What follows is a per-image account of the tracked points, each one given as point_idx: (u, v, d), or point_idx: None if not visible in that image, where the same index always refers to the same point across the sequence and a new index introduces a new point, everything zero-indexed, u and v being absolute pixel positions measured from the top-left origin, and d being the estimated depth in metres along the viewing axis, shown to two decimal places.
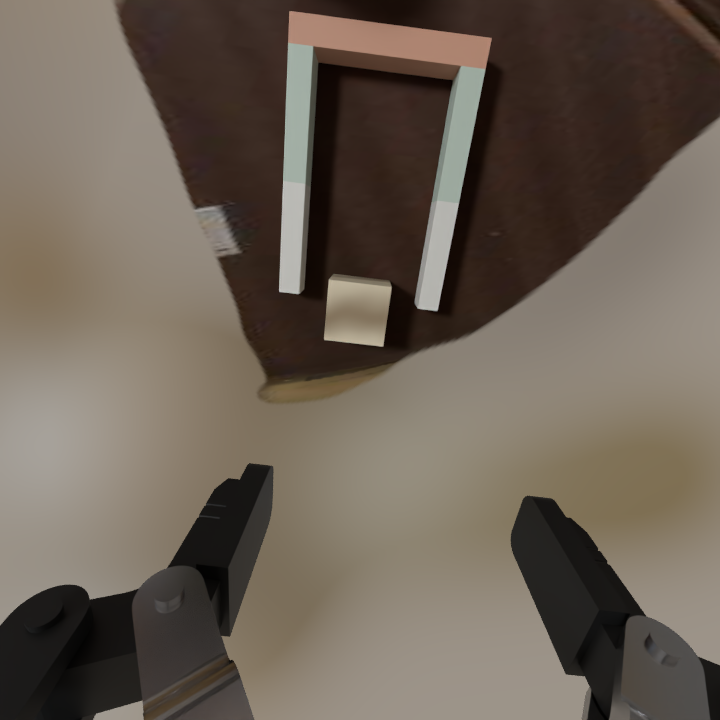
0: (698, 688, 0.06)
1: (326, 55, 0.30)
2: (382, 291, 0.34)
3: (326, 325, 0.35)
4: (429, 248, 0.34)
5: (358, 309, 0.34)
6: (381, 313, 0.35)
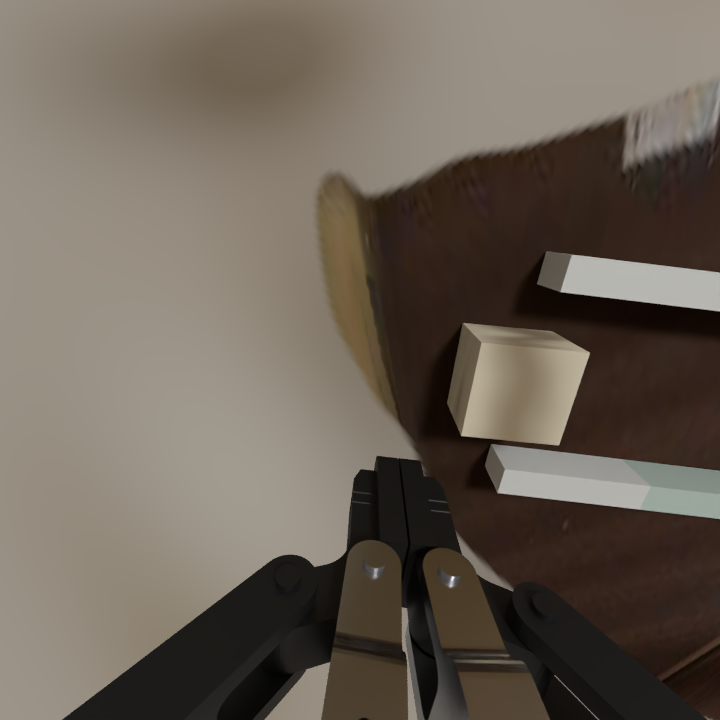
0: (462, 599, 0.07)
1: None
2: (554, 433, 0.21)
3: (507, 347, 0.20)
4: (589, 480, 0.24)
5: (530, 398, 0.21)
6: (518, 431, 0.21)
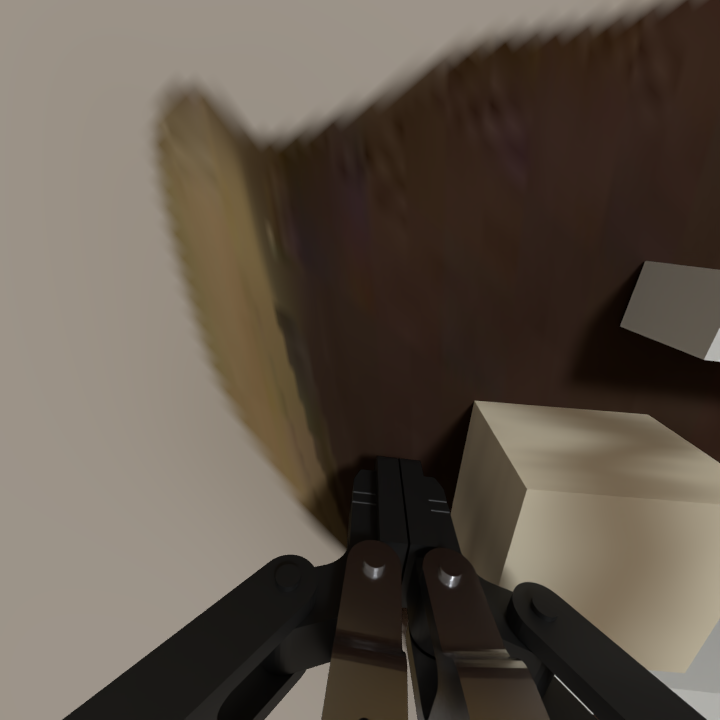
0: (462, 599, 0.07)
1: None
2: (679, 654, 0.10)
3: (590, 499, 0.08)
4: (709, 694, 0.13)
5: (633, 595, 0.09)
6: None
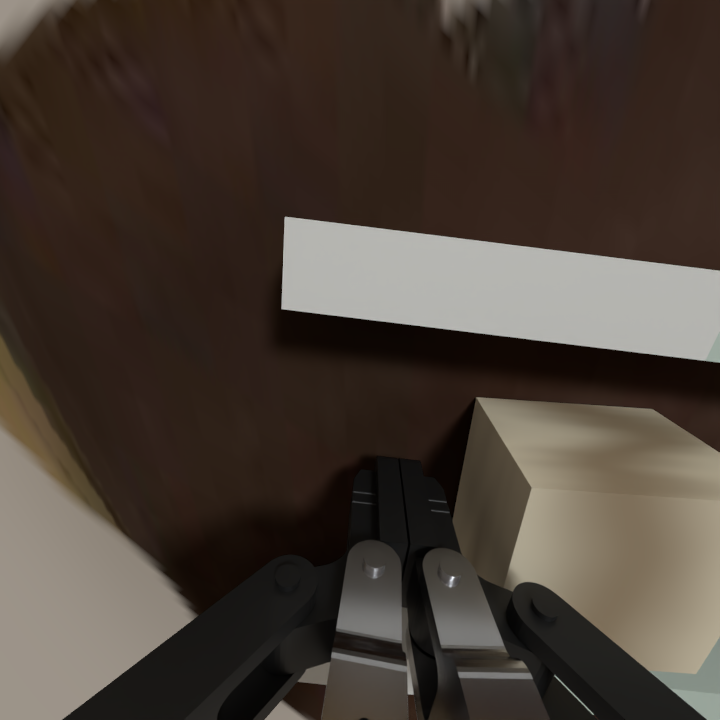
0: (462, 599, 0.07)
1: None
2: (689, 655, 0.10)
3: (596, 498, 0.08)
4: None
5: (642, 595, 0.09)
6: None
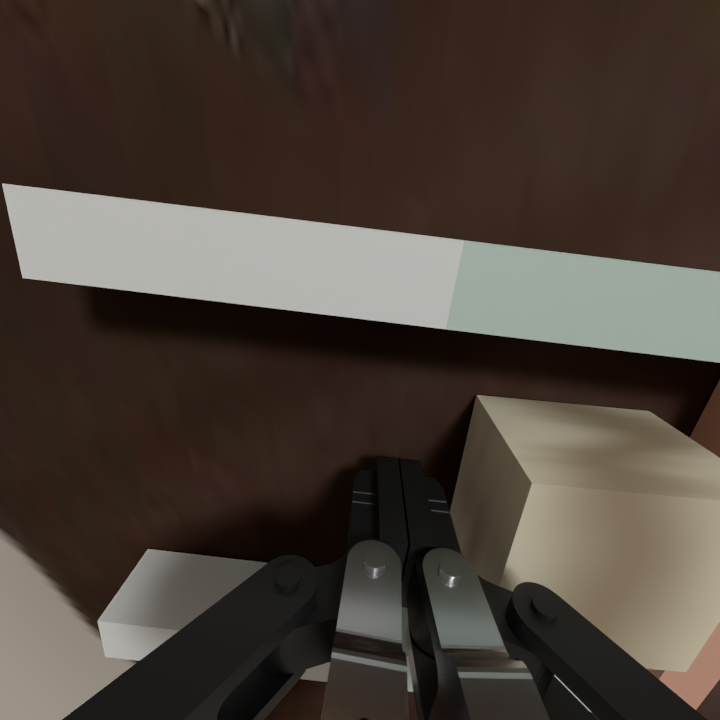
0: (462, 599, 0.07)
1: None
2: (680, 653, 0.10)
3: (595, 494, 0.08)
4: None
5: (636, 593, 0.09)
6: None
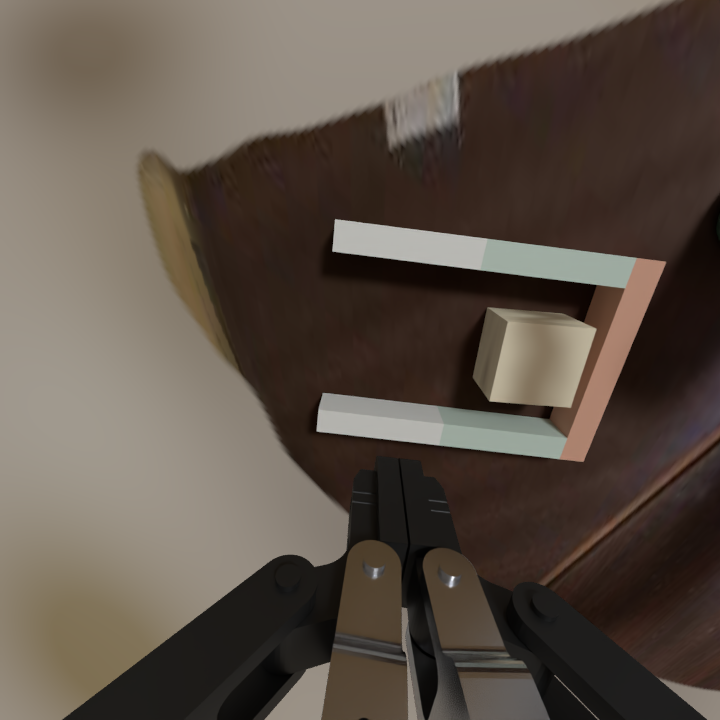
0: (463, 599, 0.07)
1: (607, 298, 0.26)
2: (567, 397, 0.26)
3: (529, 325, 0.24)
4: (391, 419, 0.28)
5: (547, 368, 0.25)
6: (537, 396, 0.26)
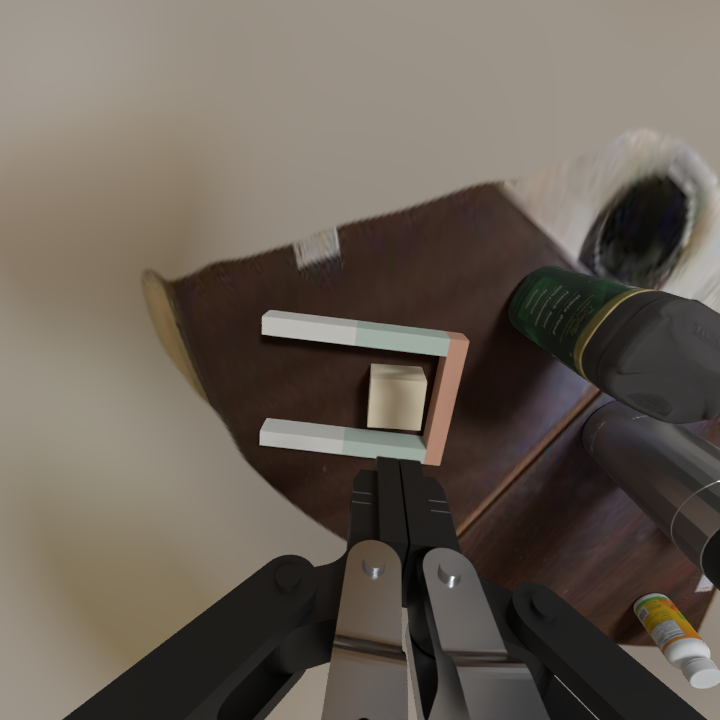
0: (463, 599, 0.07)
1: (442, 360, 0.40)
2: (416, 424, 0.40)
3: (385, 380, 0.38)
4: (308, 437, 0.42)
5: (400, 406, 0.39)
6: (397, 423, 0.40)
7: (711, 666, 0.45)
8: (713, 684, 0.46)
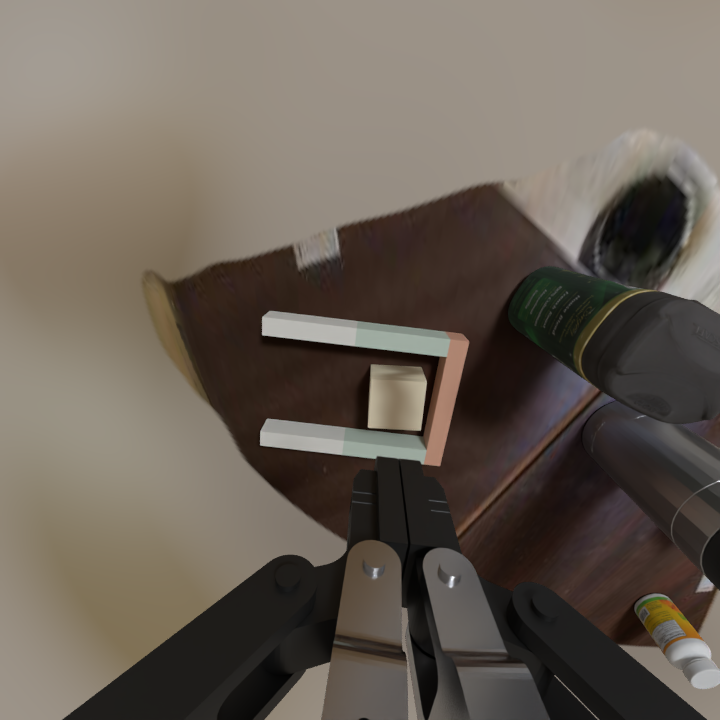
0: (462, 599, 0.07)
1: (442, 360, 0.40)
2: (417, 424, 0.40)
3: (384, 381, 0.38)
4: (308, 437, 0.42)
5: (401, 406, 0.39)
6: (397, 424, 0.40)
7: (712, 667, 0.45)
8: (714, 684, 0.46)
